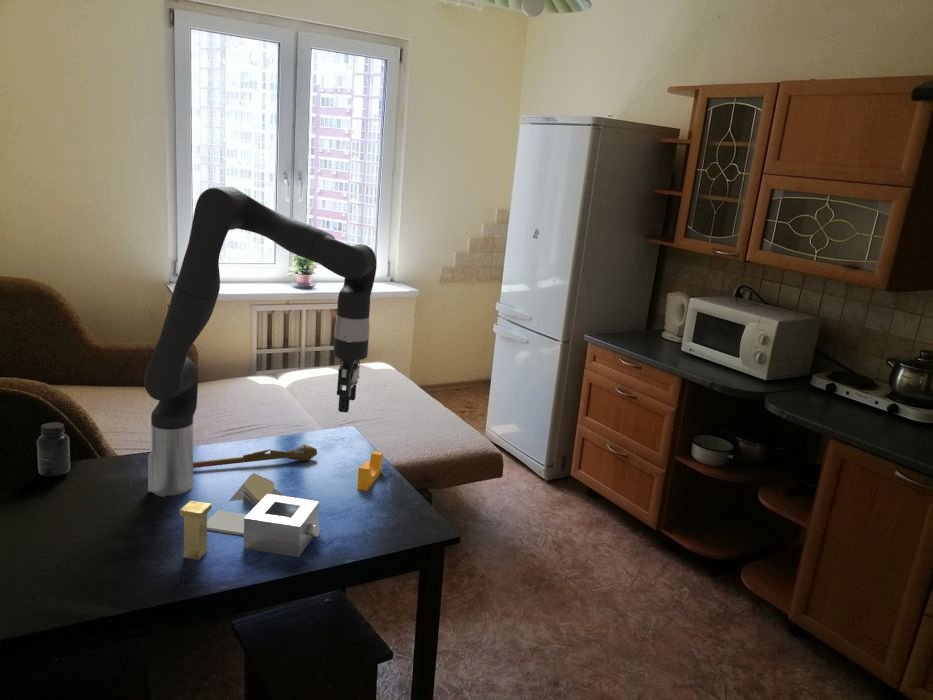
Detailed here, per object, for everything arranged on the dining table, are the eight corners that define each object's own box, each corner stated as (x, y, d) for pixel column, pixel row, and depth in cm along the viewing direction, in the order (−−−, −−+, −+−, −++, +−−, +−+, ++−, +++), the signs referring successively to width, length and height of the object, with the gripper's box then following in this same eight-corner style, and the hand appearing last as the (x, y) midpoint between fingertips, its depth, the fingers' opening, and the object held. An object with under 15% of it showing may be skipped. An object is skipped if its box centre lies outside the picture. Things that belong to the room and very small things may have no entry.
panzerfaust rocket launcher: (179, 471, 185) (178, 454, 184) (314, 456, 198) (314, 440, 197) (180, 479, 181) (178, 461, 179) (318, 463, 194) (318, 446, 193)
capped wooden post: (179, 558, 143) (179, 510, 141) (190, 547, 147) (190, 500, 145) (200, 562, 143) (200, 513, 140) (210, 551, 147) (211, 503, 144)
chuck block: (243, 548, 149) (244, 518, 147) (266, 522, 161) (267, 493, 159) (308, 558, 148) (309, 527, 146) (326, 531, 159) (327, 502, 157)
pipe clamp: (365, 472, 192) (367, 449, 191) (381, 474, 192) (382, 452, 190) (350, 490, 181) (352, 466, 179) (366, 493, 180) (368, 469, 179)
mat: (200, 528, 155) (200, 526, 155) (217, 512, 163) (218, 510, 163) (244, 535, 154) (244, 533, 154) (259, 518, 162) (259, 516, 162)
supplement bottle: (76, 471, 176) (74, 425, 174) (48, 479, 171) (45, 432, 168) (60, 463, 180) (58, 418, 177) (32, 471, 174) (30, 425, 171)
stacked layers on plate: (228, 501, 169) (230, 490, 165) (251, 474, 175) (253, 463, 171) (264, 523, 168) (266, 512, 164) (285, 495, 174) (288, 484, 171)
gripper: (340, 327, 164) (336, 394, 168) (328, 341, 150) (323, 414, 154) (373, 330, 164) (368, 397, 168) (363, 345, 150) (358, 417, 154)
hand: (346, 405), depth 161 cm, fingers open, 8 cm apart
